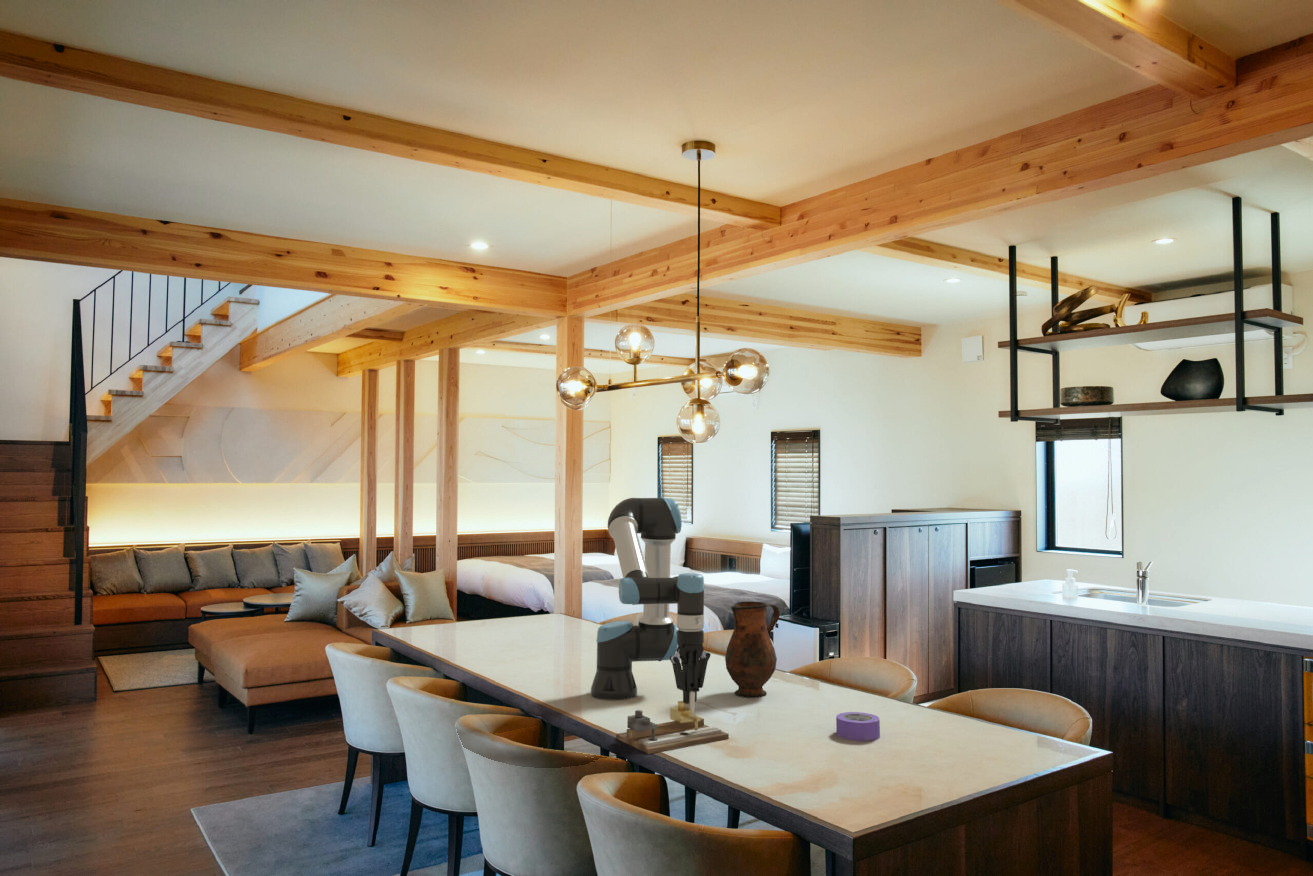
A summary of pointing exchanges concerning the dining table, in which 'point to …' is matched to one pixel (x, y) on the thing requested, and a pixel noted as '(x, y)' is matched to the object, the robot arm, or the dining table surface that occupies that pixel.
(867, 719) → the tape roll
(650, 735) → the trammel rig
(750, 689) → the pitcher
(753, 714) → the dining table surface
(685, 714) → the sliding head
